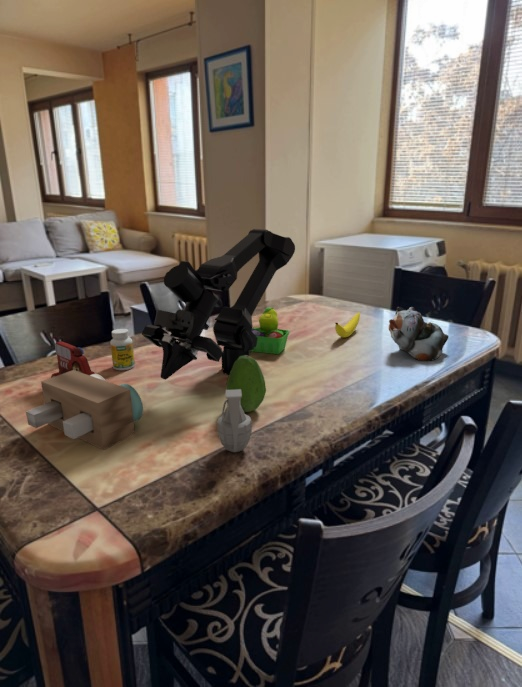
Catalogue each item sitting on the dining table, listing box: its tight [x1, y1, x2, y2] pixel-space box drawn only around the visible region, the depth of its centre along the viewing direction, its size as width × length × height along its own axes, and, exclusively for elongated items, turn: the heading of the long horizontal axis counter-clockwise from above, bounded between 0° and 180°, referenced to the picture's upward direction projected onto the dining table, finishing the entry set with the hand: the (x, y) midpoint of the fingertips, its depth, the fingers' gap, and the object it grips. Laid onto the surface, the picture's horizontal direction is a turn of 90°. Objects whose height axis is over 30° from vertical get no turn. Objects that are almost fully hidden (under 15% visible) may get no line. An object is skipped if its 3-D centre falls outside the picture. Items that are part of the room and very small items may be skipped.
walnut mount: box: [25, 370, 136, 451], centre depth 92 cm, size 15×17×9 cm
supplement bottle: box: [109, 328, 136, 371], centre depth 124 cm, size 5×5×10 cm
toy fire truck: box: [50, 341, 97, 378], centre depth 111 cm, size 7×12×10 cm, turn 49°
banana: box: [334, 312, 361, 339], centre depth 147 cm, size 3×19×6 cm, turn 150°
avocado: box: [225, 355, 267, 413], centre depth 99 cm, size 8×8×12 cm
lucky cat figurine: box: [388, 306, 449, 362], centre depth 131 cm, size 15×12×14 cm
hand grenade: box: [216, 389, 253, 453], centre depth 84 cm, size 6×6×11 cm
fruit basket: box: [251, 306, 290, 355], centre depth 135 cm, size 11×9×11 cm
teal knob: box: [63, 383, 144, 440], centre depth 90 cm, size 13×8×8 cm, turn 144°
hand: (163, 378), depth 102 cm, fingers closed
